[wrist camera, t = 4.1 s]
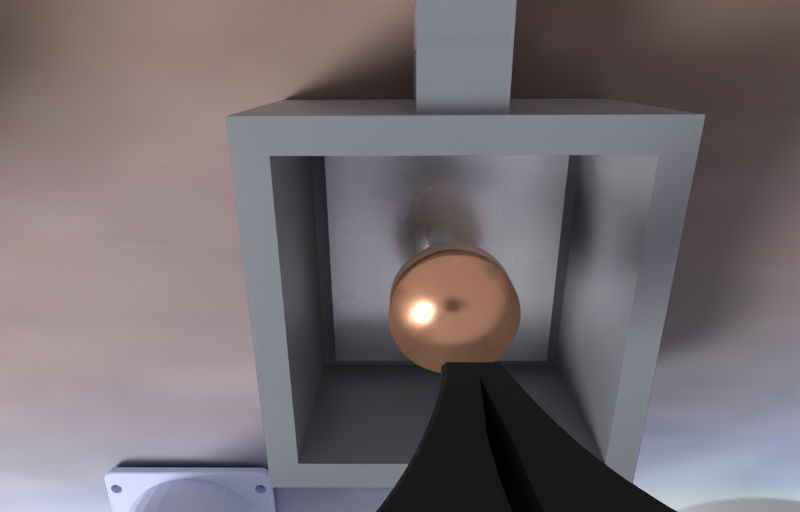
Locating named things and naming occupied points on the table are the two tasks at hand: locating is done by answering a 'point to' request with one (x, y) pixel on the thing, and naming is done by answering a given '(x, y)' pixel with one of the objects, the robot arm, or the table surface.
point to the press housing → (446, 136)
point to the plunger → (444, 256)
